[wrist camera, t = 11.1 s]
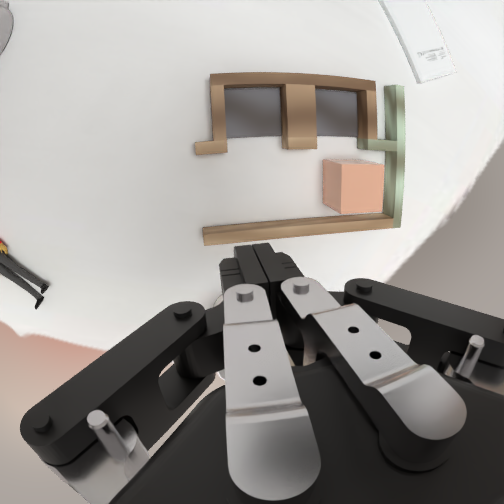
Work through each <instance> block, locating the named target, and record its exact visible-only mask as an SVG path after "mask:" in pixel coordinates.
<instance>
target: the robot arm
mask: <svg viewBox="0 0 504 504" xmlns="http://www.w3.org/2000/svg"><path fill="white" fill-rule="evenodd" d="M12 26H13V17H12V14H11V12H10V11H9V10H8V3H7V2H6V1H4V0H0V54H1V52H2V51H3V49H4V47H5V46H6V44H7V42H8V39H9V37H10V34H11V31H12ZM219 267H220V277H221V286H222V295H223V301H222V302H221V303H220V304H219V305H217V306H215V307H213V308H210V309H207V310H205V309H204V307H203V306H202V305H201V304H199V303H196V302H190V301H185V302H178V303H175V304H172V305H170V306H168V307H167V308H165V309H164V310H163V311H161V312H160V313H159V314H157V315H156V316H155V317H153V318H152V319H150V320H149V321H148V322H146V323H145V324H144V325H142V326H141V327H140V328H138V329H137V330H136V331H134V332H133V333H131V334H130V335H129V336H127V337H126V338H125V339H123V340H122V341H121V342H119V343H118V344H117V345H115V346H114V347H113V348H111V349H110V350H108V351H107V352H106V353H104V354H103V355H102V356H100V357H99V358H98V359H96V360H95V361H94V362H92V363H91V364H90V365H88V366H87V367H86V368H84V369H83V370H82V371H80V372H79V373H78V374H76V375H75V376H74V377H72V378H71V379H70V380H68V381H67V382H65V383H64V384H63V385H61V386H60V387H59V388H57V389H56V390H55V391H54V392H52V393H51V394H49V395H48V396H47V397H45V398H44V399H43V400H41V401H40V402H39V403H37V404H36V405H35V406H33V407H32V408H31V409H30V410H28V411H27V413H26V414H25V415H24V416H23V418H22V420H21V424H20V432H21V435H22V437H23V439H24V440H25V441H26V442H27V443H28V444H29V446H30V447H31V448H32V449H33V450H34V451H35V452H36V453H37V454H38V456H39V457H40V459H41V460H42V461H43V462H44V463H45V464H46V465H47V466H48V467H49V468H50V469H51V470H52V471H53V472H54V473H55V474H56V475H57V476H58V477H59V478H60V479H61V480H62V481H64V482H65V483H67V484H68V485H69V486H71V487H72V488H73V489H74V490H75V491H76V492H78V493H79V494H81V496H82V497H83V498H84V499H85V500H86V501H88V502H89V503H90V504H504V319H501V318H497V317H494V316H491V315H487V314H484V313H481V312H477V311H474V310H471V309H468V308H464V307H461V306H458V305H454V304H451V303H448V302H444V301H441V300H438V299H434V298H431V297H428V296H424V295H421V294H417V293H414V292H411V291H407V290H404V289H401V288H397V287H394V286H391V285H387V284H384V283H381V282H377V281H374V280H370V279H364V278H358V279H352V280H350V281H348V282H347V283H346V284H345V288H344V292H331V291H327V290H326V289H325V288H324V287H323V286H322V285H321V284H320V283H319V282H318V281H316V280H314V279H312V278H307V277H304V275H303V274H302V273H301V271H300V270H299V268H298V267H297V266H296V264H295V263H294V261H293V260H292V259H291V257H290V256H288V255H286V254H285V253H283V252H278V253H275V252H274V250H273V249H272V247H271V246H270V244H269V243H261V244H252V246H251V245H243V246H234V258H226V259H223V260H222V261H221V263H220V264H219ZM378 318H380V319H383V320H386V321H389V322H392V323H395V324H398V325H401V326H403V327H406V328H407V329H408V330H409V331H410V333H411V341H410V344H409V345H405V344H402V343H399V342H396V341H394V340H392V339H391V338H390V337H389V336H388V335H387V334H386V333H385V332H384V331H383V330H382V329H381V328H380V326H378V325H377V323H378ZM448 351H450V352H448ZM172 361H174V364H173V365H172V366H171V367H170V368H169V369H168V370H167V371H166V372H164V373H163V374H162V375H161V376H160V377H159V375H160V373H161V371H162V370H163V369H164V368H165V367H166V366H167V365H168V364H169V363H170V362H172ZM223 369H225V385H223V386H221V387H219V388H217V389H216V390H214V391H212V392H211V393H210V394H208V395H207V396H205V397H204V398H203V399H202V400H201V401H200V402H199V403H198V404H197V405H196V407H195V408H194V409H193V410H192V411H191V413H190V414H189V415H188V416H187V417H186V418H185V420H184V421H183V422H182V423H181V424H180V425H179V426H178V428H177V429H176V430H175V431H174V432H173V433H172V435H171V436H170V437H169V438H168V439H167V440H166V441H165V443H164V444H163V445H162V446H161V447H160V448H159V449H158V450H157V451H156V453H155V454H154V455H153V456H152V457H151V458H150V459H149V454H148V450H149V449H150V448H151V447H152V446H153V445H154V444H155V443H156V442H157V441H158V440H159V439H160V438H161V437H162V436H163V435H164V433H166V432H167V431H168V430H169V428H170V427H171V426H172V425H173V424H174V423H175V422H176V421H177V420H178V419H179V418H180V417H181V416H182V415H183V414H184V413H185V412H186V410H187V409H188V408H189V407H190V406H191V405H192V404H193V403H194V402H195V401H196V400H197V399H198V398H199V396H200V395H201V394H202V393H203V392H204V391H205V390H206V389H207V388H208V387H209V385H210V384H211V383H212V382H213V381H214V379H215V372H218V371H221V370H223Z"/></svg>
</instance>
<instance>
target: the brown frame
mask: <svg viewBox="0 0 504 504" xmlns="http://www.w3.org/2000/svg"><path fill="white" fill-rule="evenodd" d="M259 87H277V88H259ZM227 88H255V89H227ZM279 88H280V89H279ZM224 89H226V90H224ZM315 89H326V90H315ZM328 90H338V91H328ZM340 91H349V92H340ZM350 92H356V93H350ZM210 94H211V113H212V131H213V141H204V142H195V149H196V155H202V154H214V153H226V152H227V138H240V137H261V136H282V148H284V149H317V136H348V137H357V148H359V149H365V150H381V151H386V155H385V186H384V204H383V213H375V214H359V215H344V216H330V217H316V218H303V219H291V220H279V221H267V222H256V223H245V224H234V225H223V226H213V227H203V240H204V246H208V245H218V244H228V243H238V242H248V241H258V240H268V239H279V238H289V237H300V236H310V235H321V234H332V233H343V232H354V231H365V230H377V229H388V228H400V226H401V216H402V204H403V190H404V172H405V99H404V86H400V85H391V86H385V87H384V94H385V125H386V140H381V139H377V104H376V84H375V81H371V80H364V79H357V78H349V77H340V76H330V75H318V74H303V73H276V72H246V73H219V74H210ZM280 105H281V110H280ZM281 128H282V134H281Z"/></svg>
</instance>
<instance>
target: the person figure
mask: <svg viewBox="0 0 504 504" xmlns="http://www.w3.org/2000/svg"><path fill="white" fill-rule="evenodd" d="M2 250H3V251H4V252H5V251H6V252H5V254H6V253H8V252H7V251H8V250H7V247H6V246H4V244H3V243H2V242H1V241H0V273H1V274H2V275H3V276H5V277H6V278H8V279H10V280H11V281H13V282H15V283H16V284H17V285H19V286H20V287H22V288H23V289H25V290H26V291H28V292H29V293H30V294H31V295H33V296H34V297H35V298H36V299H37V302H36V305H35V309H37V308H38V307H39V305H40V304H41V302H42V301H43V299H44V297H43V296H42V295H41V294H39V293H38V292H37V291H36V290H35V289H33V288H32V287H31V286H30V285H29V284H27V283H26V282H25V281H24V280H22V279H21V278H20V277H18V276H16V275H15V274H13V273H12V272H11V271H10V270H9V269H8V268H10V269H11V270H13V271H14V272H16V273H18V274H19V275H21V276H22V277H24V278H25V279H27V280H29V281H30V282H32V283H34V284H35V285H37V286H38V287H40V288H41V293H42V294H43V293H44V292H45V291H46V290H47V289H48V287H49V286H48V285H46V284H45V283H43V282H41V281H40V280H38V279H37V278H35V277H34V276H33V275H31V274H30V273H29V272H27V271H26V270H25V269H23V268H21V267H19V266H18V265H17V264H15V263H14V262H13V261H12V260H11V259H10V258H9V257H7V256H6V255H5V254H4V253H3V252H2ZM7 267H8V268H7Z"/></svg>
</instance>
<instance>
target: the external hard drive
mask: <svg viewBox="0 0 504 504" xmlns="http://www.w3.org/2000/svg"><path fill="white" fill-rule="evenodd" d="M378 1H379V3H380V5H381V6H382V8H383V10H384V12H385V14H386V15H387V17H388V19H389V21H390V23H391V25H392V27H393V29H394V31H395V33H396V35H397V37H398V39H399V41H400V44H401V46H402V48H403V50H404V52H405V55H406V57H407V59H408V61H409V64H410V66H411V69H412V71H413V73H414V76H415V79H416V81H417V83H424V82H427V81H430V80H433V79H436V78H439V77H442V76H446V75H449V74H452V73H456V72H457V71H456V68H455V65H454V63H453V60H452V58H451V55H450V52H449V50H448V47H447V45H446V43H445V40H444V38H443V36H442V33H441V31H440V29H439V27H438V25H437V23H436V20H435V18H434V16H433V14H432V12H431V10H430V8H429V6H428V5H427V3H426V1H425V0H378Z"/></svg>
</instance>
